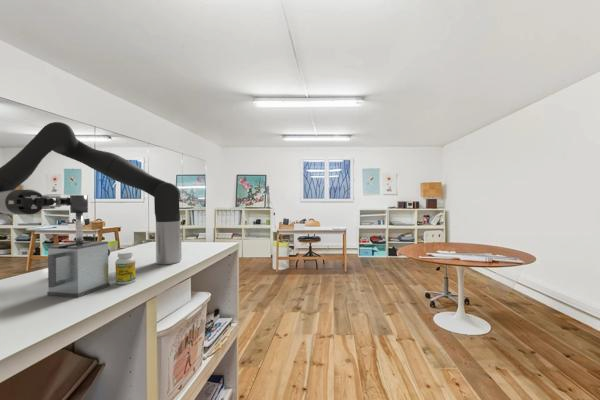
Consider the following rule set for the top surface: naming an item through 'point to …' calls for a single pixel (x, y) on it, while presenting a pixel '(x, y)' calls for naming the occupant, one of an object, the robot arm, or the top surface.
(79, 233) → the dark grey knob handle
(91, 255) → the grey box
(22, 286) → the top surface
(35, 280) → the top surface
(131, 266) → the supplement bottle
